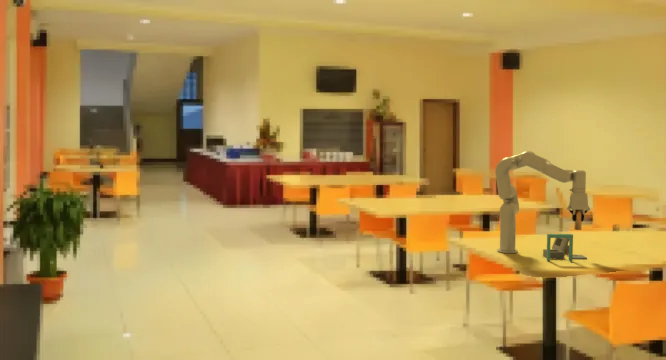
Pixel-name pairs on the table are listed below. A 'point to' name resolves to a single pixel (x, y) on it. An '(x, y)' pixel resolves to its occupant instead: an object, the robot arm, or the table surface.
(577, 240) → the table surface
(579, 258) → the mat
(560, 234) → the green arch
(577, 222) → the cylinder
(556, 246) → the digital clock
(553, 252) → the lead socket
